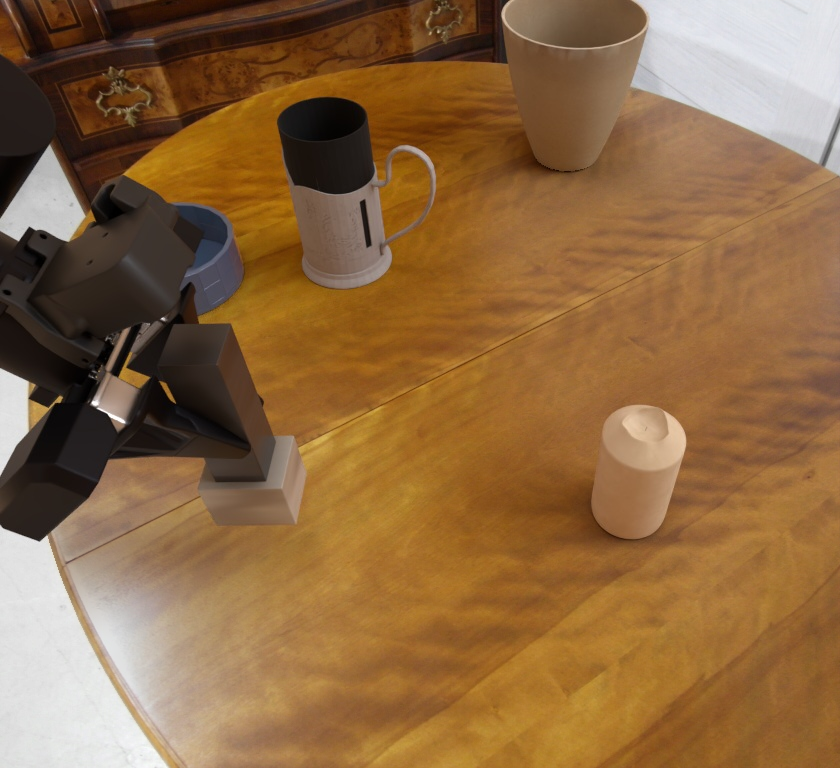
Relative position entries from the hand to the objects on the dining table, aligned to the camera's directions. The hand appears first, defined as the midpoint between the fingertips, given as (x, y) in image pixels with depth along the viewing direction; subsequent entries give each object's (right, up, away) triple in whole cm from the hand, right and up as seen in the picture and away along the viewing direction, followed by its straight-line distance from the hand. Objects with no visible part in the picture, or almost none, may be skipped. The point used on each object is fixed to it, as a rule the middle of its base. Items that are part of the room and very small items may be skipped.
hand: (253, 430), depth 44 cm
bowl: (-17, +13, +29) cm, 36 cm away
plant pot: (+21, +29, +45) cm, 58 cm away
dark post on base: (-1, -5, +5) cm, 7 cm away
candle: (+23, -7, +13) cm, 28 cm away
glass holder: (+1, +14, +31) cm, 34 cm away
